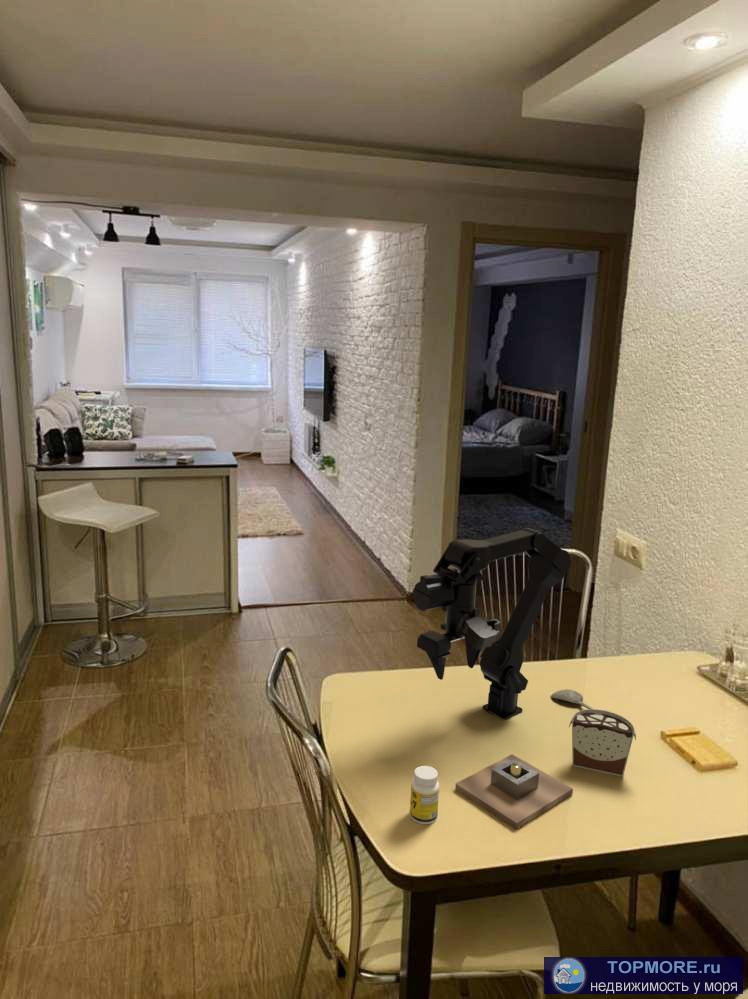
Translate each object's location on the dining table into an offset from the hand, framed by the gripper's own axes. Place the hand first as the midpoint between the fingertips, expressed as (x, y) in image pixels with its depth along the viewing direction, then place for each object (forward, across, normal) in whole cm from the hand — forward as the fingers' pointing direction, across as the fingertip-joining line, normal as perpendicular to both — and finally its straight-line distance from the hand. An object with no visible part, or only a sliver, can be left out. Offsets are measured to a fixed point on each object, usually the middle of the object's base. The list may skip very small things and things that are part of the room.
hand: (455, 673), depth 151 cm
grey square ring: (+11, -8, -23) cm, 27 cm away
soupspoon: (+13, +29, -15) cm, 35 cm away
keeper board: (+12, -8, -23) cm, 27 cm away
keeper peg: (+11, -8, -23) cm, 27 cm away
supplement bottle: (+12, -26, -18) cm, 34 cm away
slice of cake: (+12, +13, -27) cm, 32 cm away
